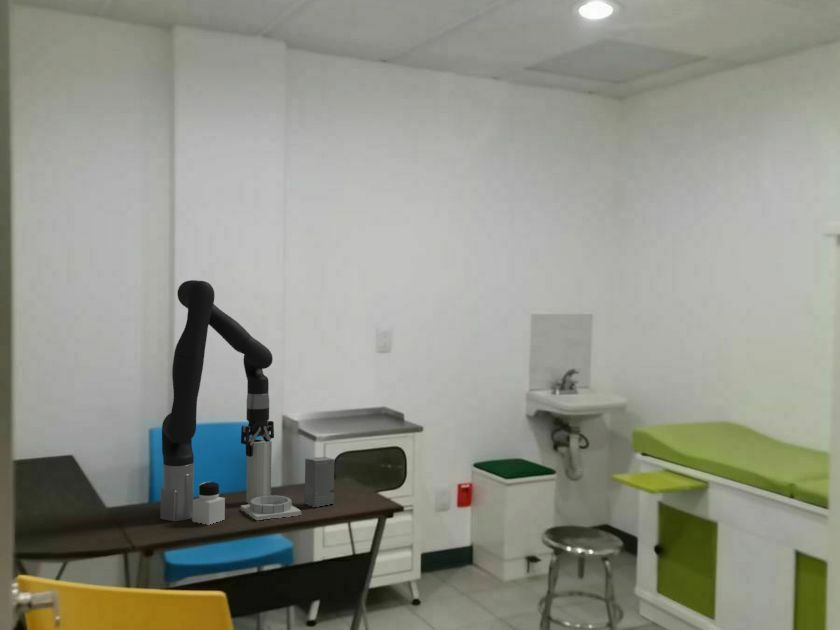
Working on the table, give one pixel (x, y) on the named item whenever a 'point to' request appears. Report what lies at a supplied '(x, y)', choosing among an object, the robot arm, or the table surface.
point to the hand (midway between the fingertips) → (257, 454)
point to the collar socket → (270, 507)
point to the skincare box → (319, 481)
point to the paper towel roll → (259, 470)
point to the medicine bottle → (208, 504)
